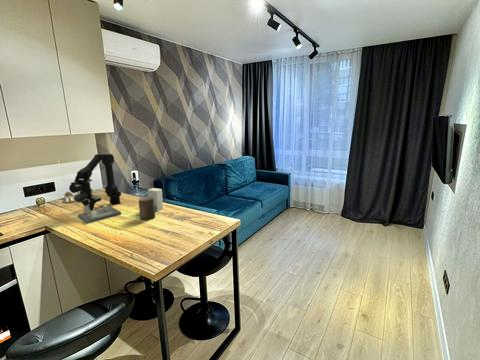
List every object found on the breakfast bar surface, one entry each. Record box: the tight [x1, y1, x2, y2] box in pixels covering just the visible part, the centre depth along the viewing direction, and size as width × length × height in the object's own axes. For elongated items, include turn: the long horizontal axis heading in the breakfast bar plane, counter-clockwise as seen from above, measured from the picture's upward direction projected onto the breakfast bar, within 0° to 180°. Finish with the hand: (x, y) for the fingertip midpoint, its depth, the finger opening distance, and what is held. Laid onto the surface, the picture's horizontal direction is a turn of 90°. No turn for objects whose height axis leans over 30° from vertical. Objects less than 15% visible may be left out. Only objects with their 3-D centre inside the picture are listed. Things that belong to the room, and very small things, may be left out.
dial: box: [82, 204, 96, 214], centre depth 181 cm, size 6×3×6 cm, turn 139°
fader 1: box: [91, 211, 97, 218], centre depth 173 cm, size 2×3×4 cm
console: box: [77, 206, 122, 225], centre depth 181 cm, size 22×18×2 cm
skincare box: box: [147, 187, 164, 213], centre depth 190 cm, size 8×7×16 cm
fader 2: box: [102, 204, 109, 211], centre depth 184 cm, size 2×3×4 cm
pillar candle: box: [137, 195, 156, 221], centre depth 175 cm, size 10×10×15 cm
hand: (89, 210), depth 182 cm, fingers closed on dial, 4 cm apart
